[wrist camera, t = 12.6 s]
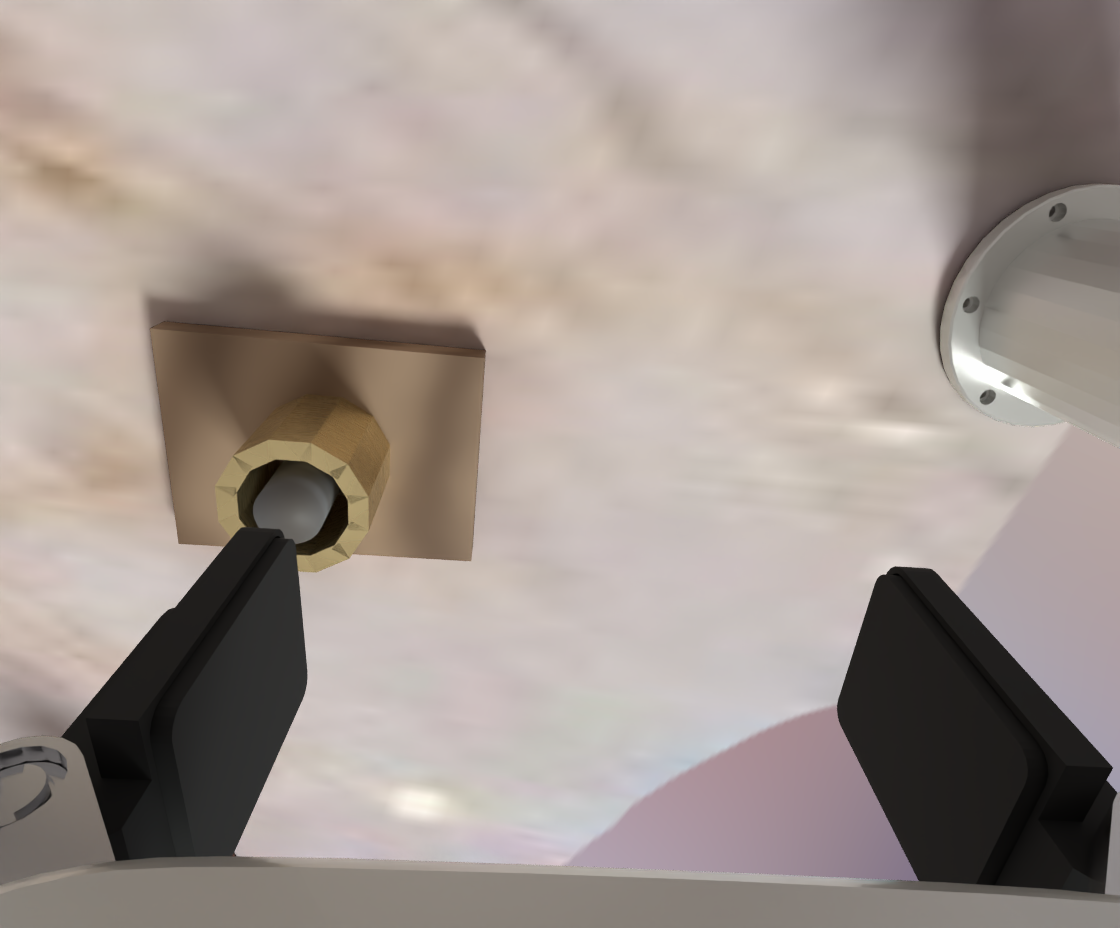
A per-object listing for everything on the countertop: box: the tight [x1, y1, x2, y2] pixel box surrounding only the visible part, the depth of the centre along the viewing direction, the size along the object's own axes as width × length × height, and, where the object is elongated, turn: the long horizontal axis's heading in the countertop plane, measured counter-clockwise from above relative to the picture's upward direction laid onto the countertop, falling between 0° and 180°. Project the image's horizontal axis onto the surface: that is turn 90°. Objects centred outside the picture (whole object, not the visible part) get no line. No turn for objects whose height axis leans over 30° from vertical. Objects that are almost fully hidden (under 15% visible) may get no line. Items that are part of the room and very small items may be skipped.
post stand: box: [150, 321, 486, 561], centre depth 34 cm, size 16×12×8 cm
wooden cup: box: [215, 394, 390, 572], centre depth 34 cm, size 7×7×6 cm
